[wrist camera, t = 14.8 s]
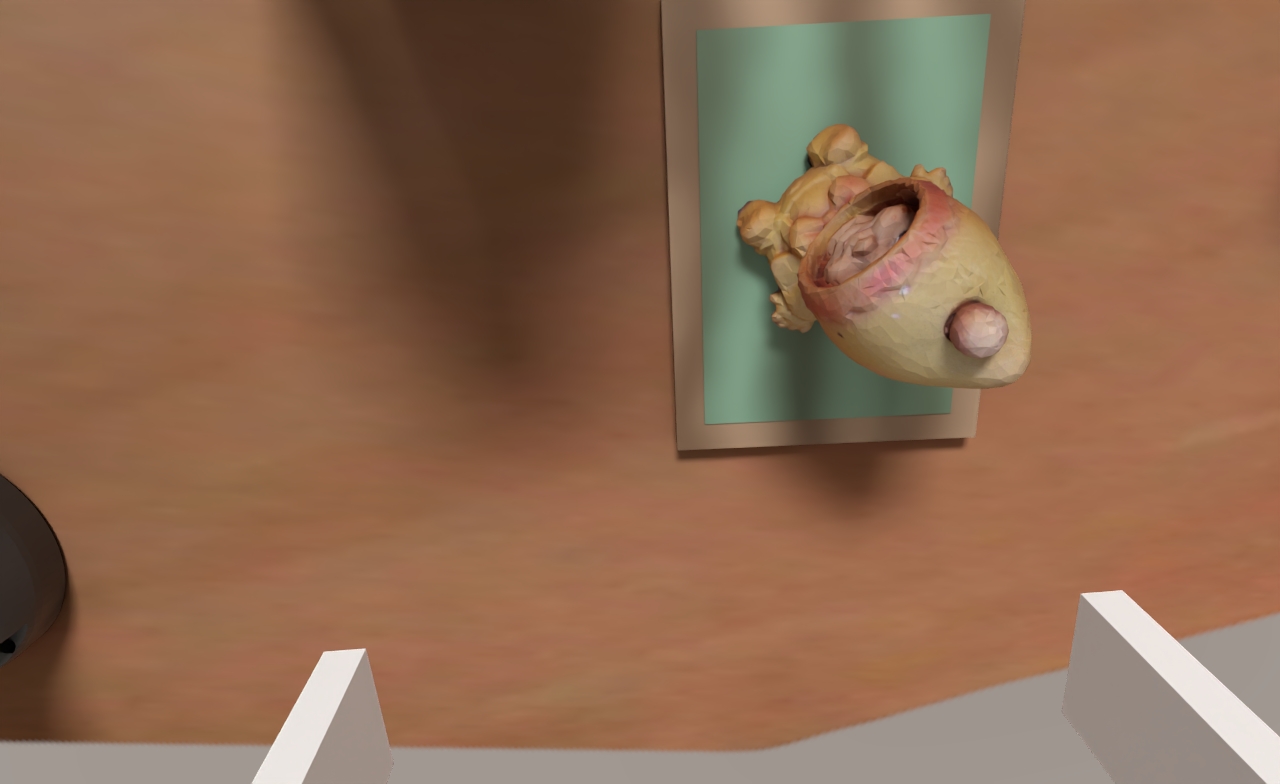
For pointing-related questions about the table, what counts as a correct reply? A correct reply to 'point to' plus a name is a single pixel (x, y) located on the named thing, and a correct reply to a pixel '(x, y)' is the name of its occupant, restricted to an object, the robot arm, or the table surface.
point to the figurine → (891, 269)
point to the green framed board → (776, 155)
